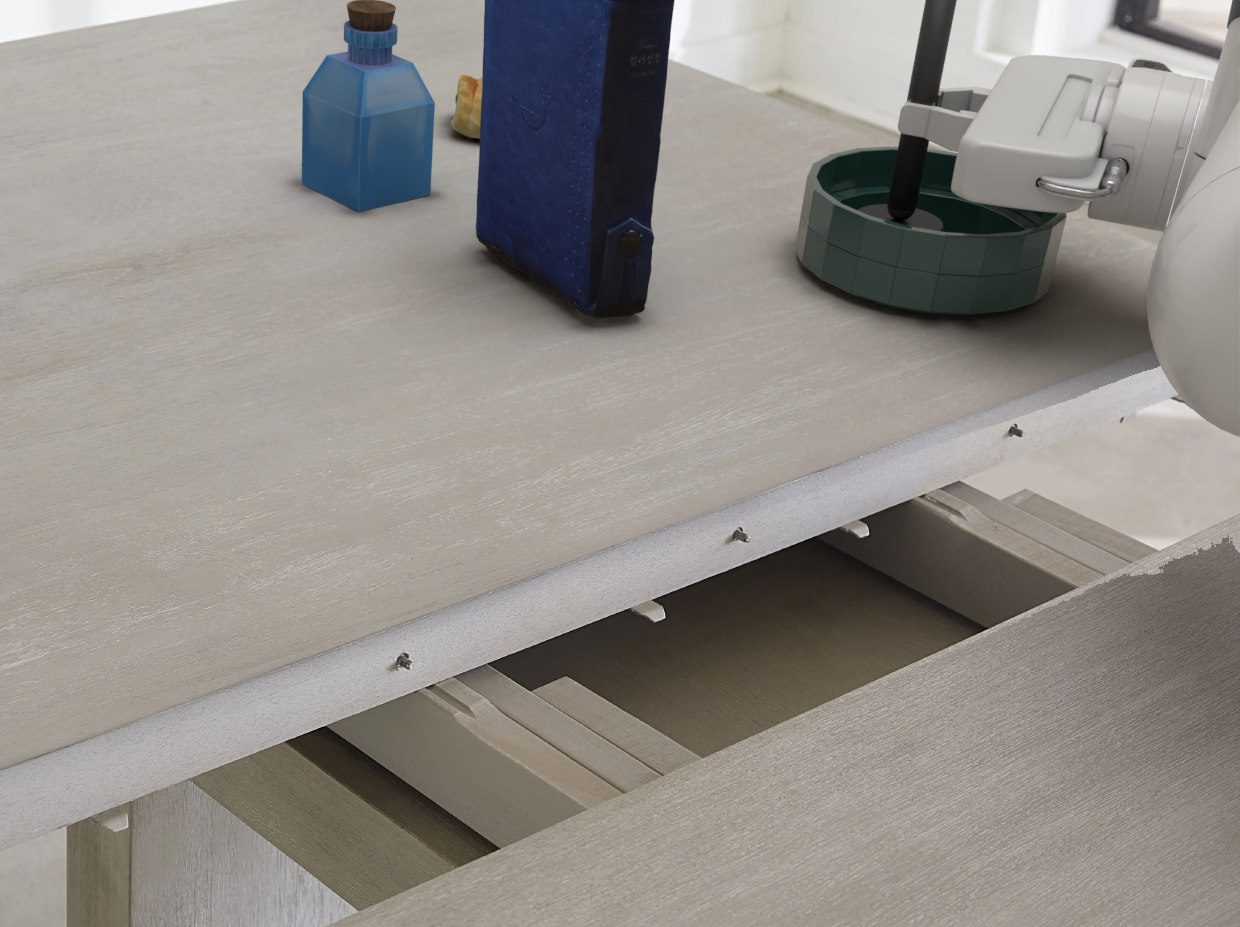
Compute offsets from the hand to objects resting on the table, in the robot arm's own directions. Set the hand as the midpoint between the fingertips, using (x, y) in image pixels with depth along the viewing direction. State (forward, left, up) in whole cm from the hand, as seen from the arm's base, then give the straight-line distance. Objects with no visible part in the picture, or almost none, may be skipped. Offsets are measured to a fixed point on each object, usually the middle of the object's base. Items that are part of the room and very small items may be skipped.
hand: (906, 107), depth 117 cm
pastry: (+23, -24, -11) cm, 35 cm away
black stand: (-1, 0, -9) cm, 10 cm away
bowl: (-3, 0, -10) cm, 11 cm away
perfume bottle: (+33, -10, -11) cm, 36 cm away
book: (+21, +5, -11) cm, 24 cm away
